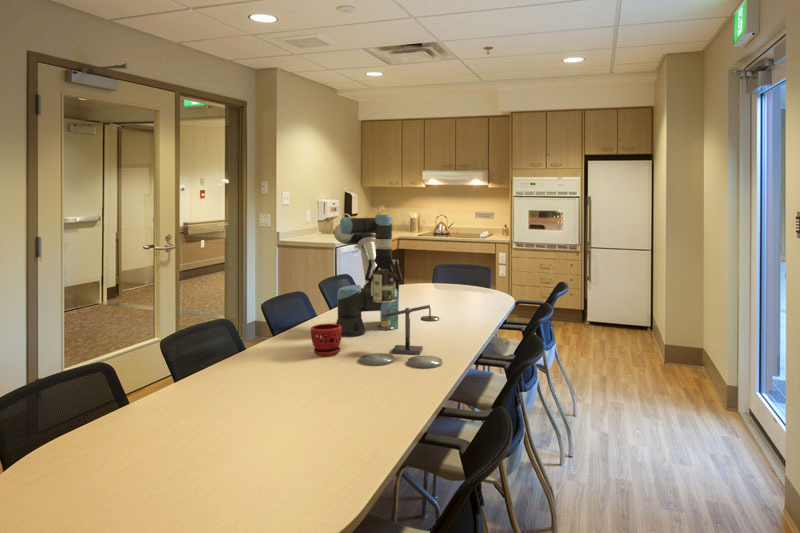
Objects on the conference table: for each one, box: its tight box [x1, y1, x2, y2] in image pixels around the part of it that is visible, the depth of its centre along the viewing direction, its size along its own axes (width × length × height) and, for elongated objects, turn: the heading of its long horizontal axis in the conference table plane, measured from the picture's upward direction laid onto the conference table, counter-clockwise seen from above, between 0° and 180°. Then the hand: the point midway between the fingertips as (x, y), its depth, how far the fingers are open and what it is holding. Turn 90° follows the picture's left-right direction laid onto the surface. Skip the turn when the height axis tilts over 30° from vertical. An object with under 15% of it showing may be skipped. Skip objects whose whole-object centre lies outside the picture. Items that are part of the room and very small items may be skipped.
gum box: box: [379, 287, 400, 330], centre depth 304 cm, size 20×5×23 cm, turn 16°
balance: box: [376, 304, 440, 356], centre depth 253 cm, size 27×8×21 cm, turn 79°
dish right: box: [407, 355, 443, 369], centre depth 237 cm, size 14×14×1 cm
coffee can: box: [373, 268, 396, 303], centre depth 270 cm, size 10×10×14 cm
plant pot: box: [310, 323, 342, 357], centre depth 252 cm, size 13×13×12 cm
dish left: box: [359, 352, 395, 367], centre depth 241 cm, size 14×14×1 cm
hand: (383, 295), depth 271 cm, fingers closed on coffee can, 10 cm apart
